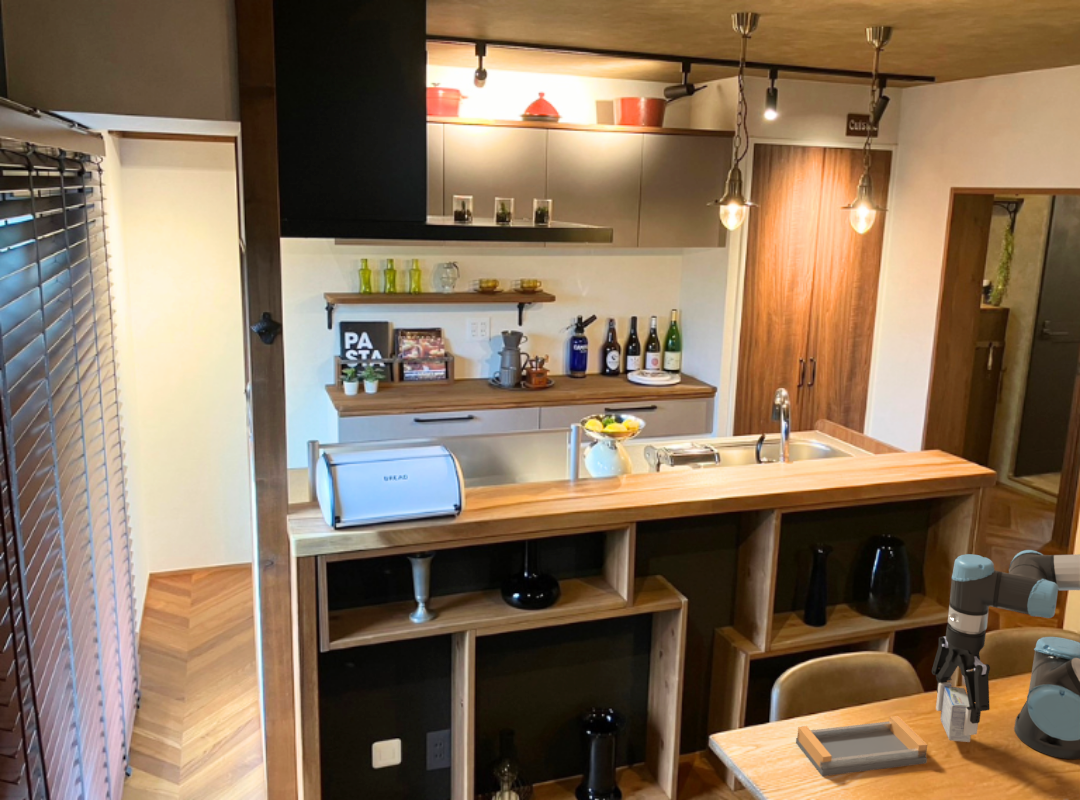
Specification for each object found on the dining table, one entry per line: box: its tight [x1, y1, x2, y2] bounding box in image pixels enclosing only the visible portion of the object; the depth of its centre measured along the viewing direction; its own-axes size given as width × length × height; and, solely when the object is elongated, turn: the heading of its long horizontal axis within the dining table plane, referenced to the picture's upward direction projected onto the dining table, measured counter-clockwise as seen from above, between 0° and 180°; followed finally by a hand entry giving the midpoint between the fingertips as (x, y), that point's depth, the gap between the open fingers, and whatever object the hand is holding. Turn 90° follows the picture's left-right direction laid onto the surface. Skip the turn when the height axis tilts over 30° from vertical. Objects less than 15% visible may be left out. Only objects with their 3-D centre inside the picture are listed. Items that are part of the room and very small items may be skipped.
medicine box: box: [940, 686, 972, 743], centre depth 194 cm, size 8×4×9 cm, turn 168°
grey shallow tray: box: [795, 715, 928, 777], centre depth 191 cm, size 24×12×4 cm, turn 101°
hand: (955, 721), depth 195 cm, fingers closed on medicine box, 9 cm apart
